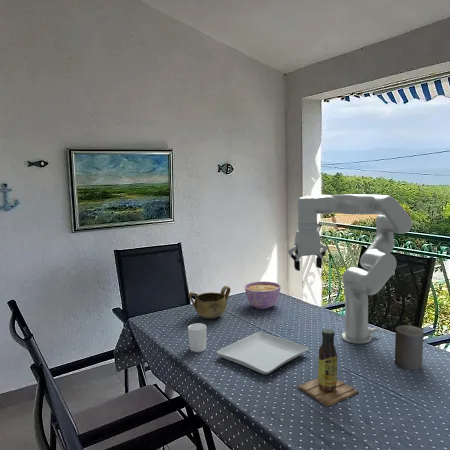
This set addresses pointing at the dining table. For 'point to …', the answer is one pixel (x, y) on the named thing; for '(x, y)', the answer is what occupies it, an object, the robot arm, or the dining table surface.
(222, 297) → the ceramic bowl
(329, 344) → the sauce bottle
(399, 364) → the pillar candle
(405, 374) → the dining table surface
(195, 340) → the white cup
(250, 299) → the bowl of food
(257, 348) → the square plate
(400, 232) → the robot arm
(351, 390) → the trivet
